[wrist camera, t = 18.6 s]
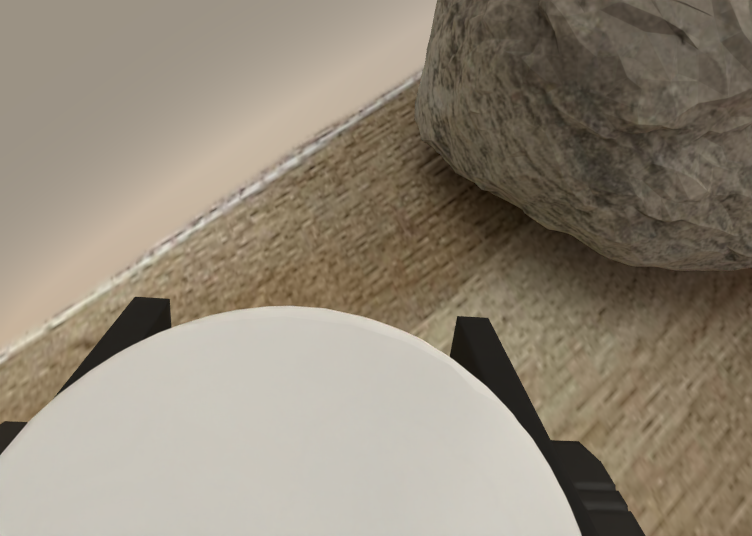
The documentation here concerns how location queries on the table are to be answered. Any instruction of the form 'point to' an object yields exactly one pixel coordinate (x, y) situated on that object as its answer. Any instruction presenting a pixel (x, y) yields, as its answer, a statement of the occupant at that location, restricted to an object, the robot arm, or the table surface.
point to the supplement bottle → (279, 440)
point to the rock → (603, 120)
